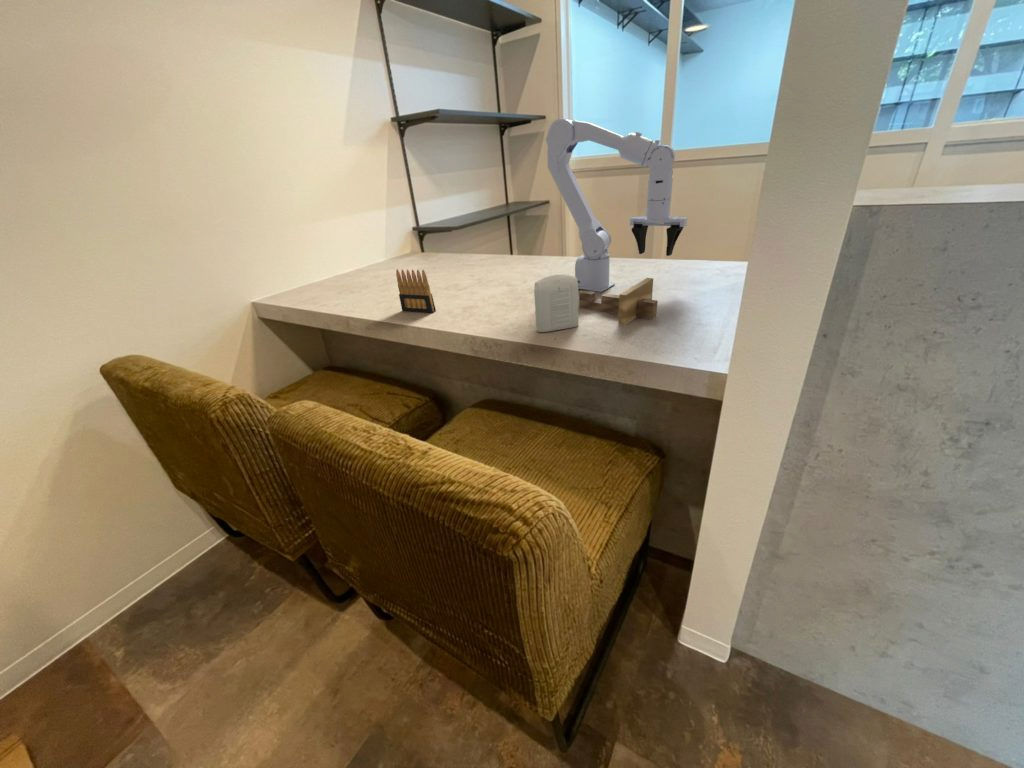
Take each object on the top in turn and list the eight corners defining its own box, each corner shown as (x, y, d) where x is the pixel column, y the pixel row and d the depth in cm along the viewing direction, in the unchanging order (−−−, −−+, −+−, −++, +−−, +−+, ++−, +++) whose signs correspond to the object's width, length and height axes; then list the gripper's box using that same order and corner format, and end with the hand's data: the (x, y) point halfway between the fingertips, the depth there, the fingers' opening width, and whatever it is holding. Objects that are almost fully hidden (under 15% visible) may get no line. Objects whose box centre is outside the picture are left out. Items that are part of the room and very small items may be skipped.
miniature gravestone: (575, 321, 100) (573, 269, 94) (581, 327, 96) (580, 274, 90) (534, 328, 99) (530, 277, 93) (539, 334, 95) (535, 281, 89)
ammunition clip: (436, 311, 117) (427, 268, 111) (432, 313, 116) (423, 270, 110) (405, 309, 121) (396, 268, 116) (402, 311, 120) (392, 270, 114)
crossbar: (618, 323, 96) (619, 294, 93) (645, 305, 105) (647, 277, 101) (624, 324, 95) (625, 295, 92) (651, 306, 104) (653, 278, 100)
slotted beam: (579, 307, 108) (579, 292, 106) (583, 305, 109) (583, 290, 107) (652, 319, 96) (653, 303, 94) (656, 317, 97) (657, 300, 95)
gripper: (625, 201, 107) (623, 255, 113) (681, 201, 98) (675, 259, 104) (637, 198, 111) (635, 249, 118) (692, 197, 102) (686, 253, 109)
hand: (655, 254), depth 111 cm, fingers open, 7 cm apart
